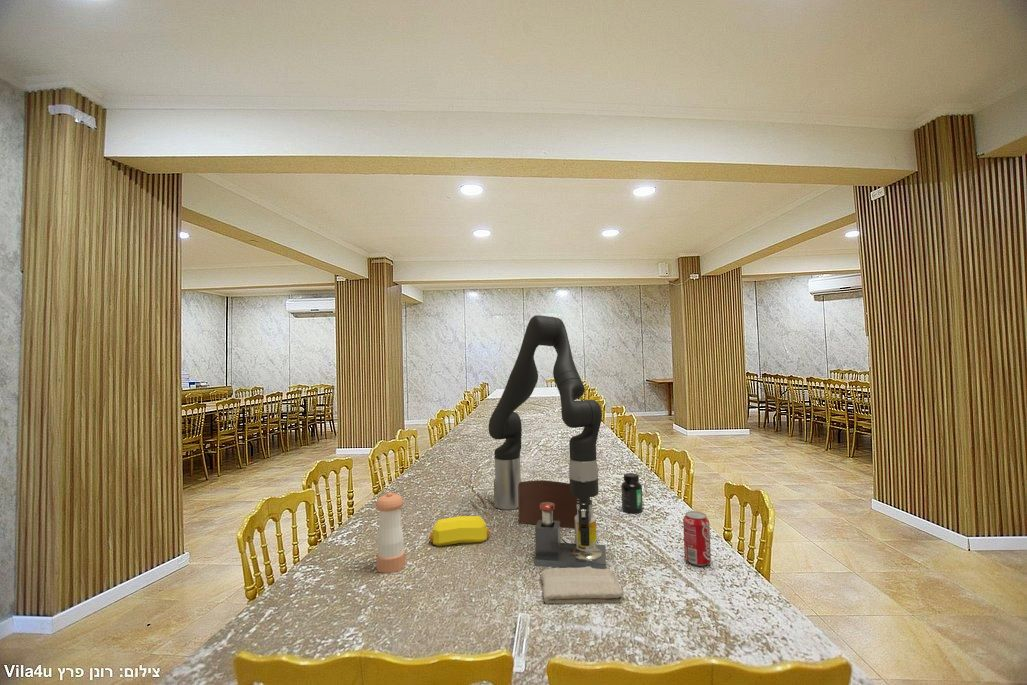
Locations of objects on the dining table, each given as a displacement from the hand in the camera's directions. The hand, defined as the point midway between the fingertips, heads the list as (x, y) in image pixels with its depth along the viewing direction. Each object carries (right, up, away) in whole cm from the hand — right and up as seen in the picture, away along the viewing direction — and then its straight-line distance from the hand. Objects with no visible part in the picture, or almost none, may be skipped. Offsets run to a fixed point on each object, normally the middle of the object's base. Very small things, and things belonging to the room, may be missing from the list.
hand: (585, 540), depth 119 cm
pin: (-10, +1, +2) cm, 10 cm away
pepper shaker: (-51, -7, -1) cm, 51 cm away
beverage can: (+28, -4, -4) cm, 29 cm away
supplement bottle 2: (+21, -5, +34) cm, 41 cm away
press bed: (-4, -5, +1) cm, 6 cm away
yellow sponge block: (-35, -7, +14) cm, 38 cm away
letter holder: (-6, -6, +28) cm, 29 cm away
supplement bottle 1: (0, -2, 0) cm, 2 cm away
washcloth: (-3, -5, -15) cm, 17 cm away
